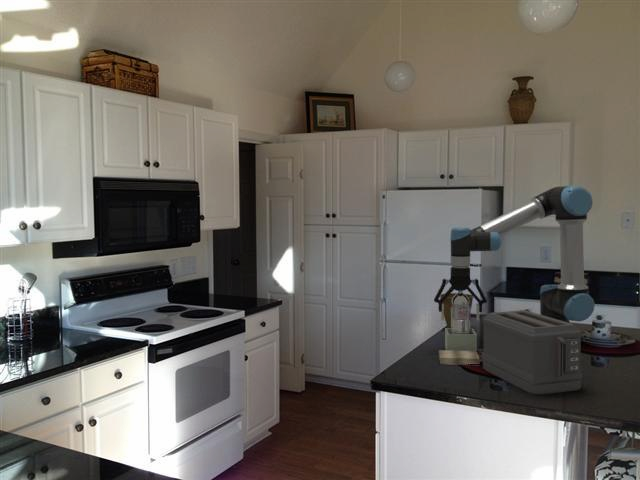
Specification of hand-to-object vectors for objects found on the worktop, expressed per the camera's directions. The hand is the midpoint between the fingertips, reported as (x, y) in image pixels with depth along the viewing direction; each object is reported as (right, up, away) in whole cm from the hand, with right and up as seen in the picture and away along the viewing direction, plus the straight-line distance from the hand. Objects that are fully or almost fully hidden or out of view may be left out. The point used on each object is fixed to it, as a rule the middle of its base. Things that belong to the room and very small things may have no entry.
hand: (460, 320), depth 232 cm
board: (-4, -13, -13) cm, 19 cm away
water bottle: (0, -13, +1) cm, 13 cm away
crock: (0, -12, +1) cm, 13 cm away
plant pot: (+8, -10, +40) cm, 42 cm away
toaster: (+15, -15, -34) cm, 40 cm away
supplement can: (+5, -11, +20) cm, 24 cm away
